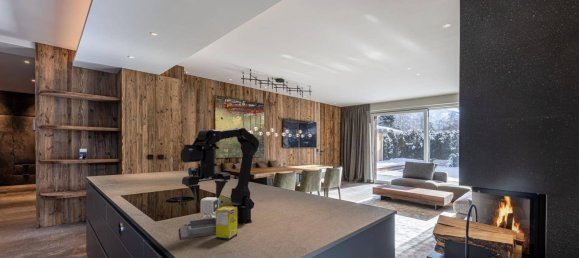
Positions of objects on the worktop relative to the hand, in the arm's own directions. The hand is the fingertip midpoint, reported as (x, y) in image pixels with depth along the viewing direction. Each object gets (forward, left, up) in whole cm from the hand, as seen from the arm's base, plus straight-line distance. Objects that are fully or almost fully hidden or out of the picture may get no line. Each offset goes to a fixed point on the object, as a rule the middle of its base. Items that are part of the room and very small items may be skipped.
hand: (207, 200), depth 105 cm
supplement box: (-6, +6, -14) cm, 16 cm away
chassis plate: (+1, -6, -13) cm, 14 cm away
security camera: (-3, -21, -14) cm, 25 cm away
